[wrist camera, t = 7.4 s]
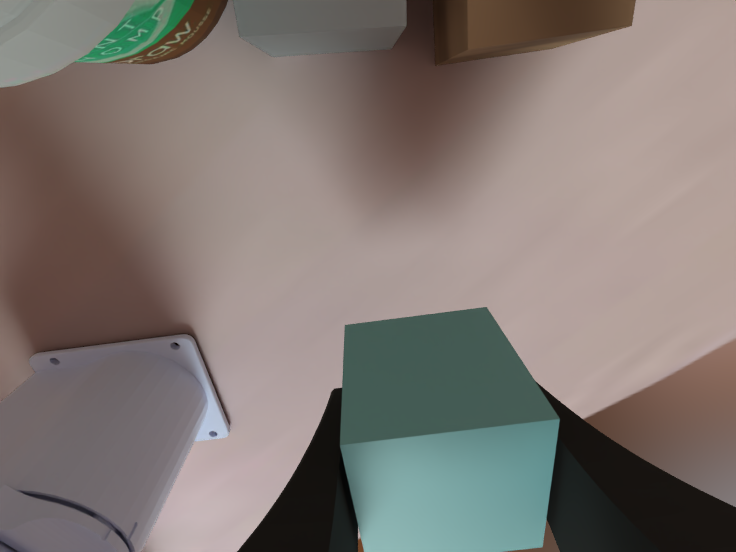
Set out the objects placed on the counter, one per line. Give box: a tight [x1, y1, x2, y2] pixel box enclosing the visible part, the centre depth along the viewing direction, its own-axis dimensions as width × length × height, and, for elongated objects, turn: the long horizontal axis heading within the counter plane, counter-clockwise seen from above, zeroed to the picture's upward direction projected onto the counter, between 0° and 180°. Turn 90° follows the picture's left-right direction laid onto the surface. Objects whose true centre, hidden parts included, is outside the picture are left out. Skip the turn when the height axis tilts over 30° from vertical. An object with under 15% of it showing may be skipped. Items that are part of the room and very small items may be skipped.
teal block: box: [340, 307, 560, 552], centre depth 12 cm, size 5×5×5 cm
